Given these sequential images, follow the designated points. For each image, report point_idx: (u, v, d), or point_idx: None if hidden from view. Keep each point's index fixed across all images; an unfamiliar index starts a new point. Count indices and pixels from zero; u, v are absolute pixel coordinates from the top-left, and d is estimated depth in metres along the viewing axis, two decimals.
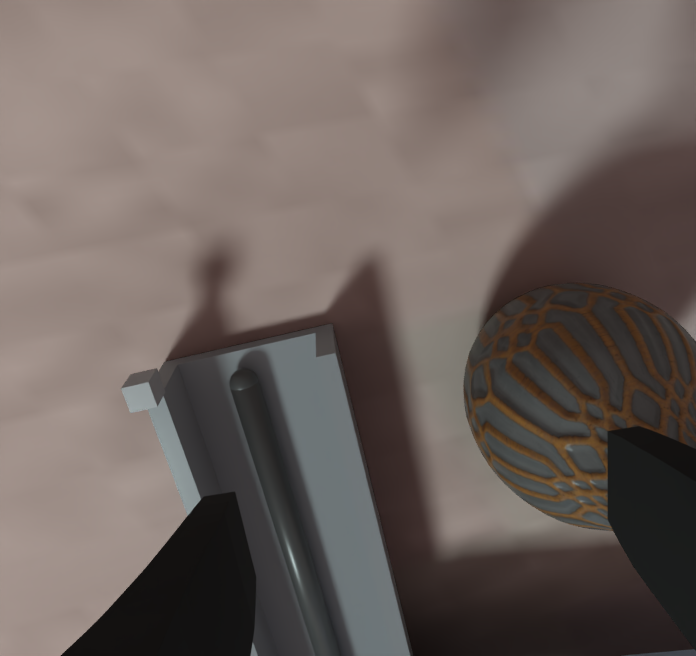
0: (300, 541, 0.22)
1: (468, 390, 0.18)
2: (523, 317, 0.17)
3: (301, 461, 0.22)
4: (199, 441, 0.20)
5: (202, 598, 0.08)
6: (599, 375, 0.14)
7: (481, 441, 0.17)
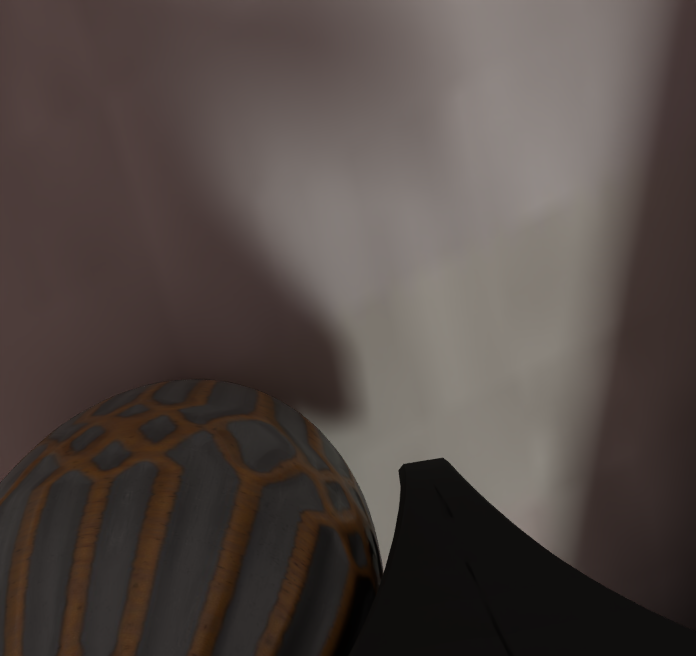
0: None
1: None
2: None
3: None
4: None
5: None
6: None
7: None
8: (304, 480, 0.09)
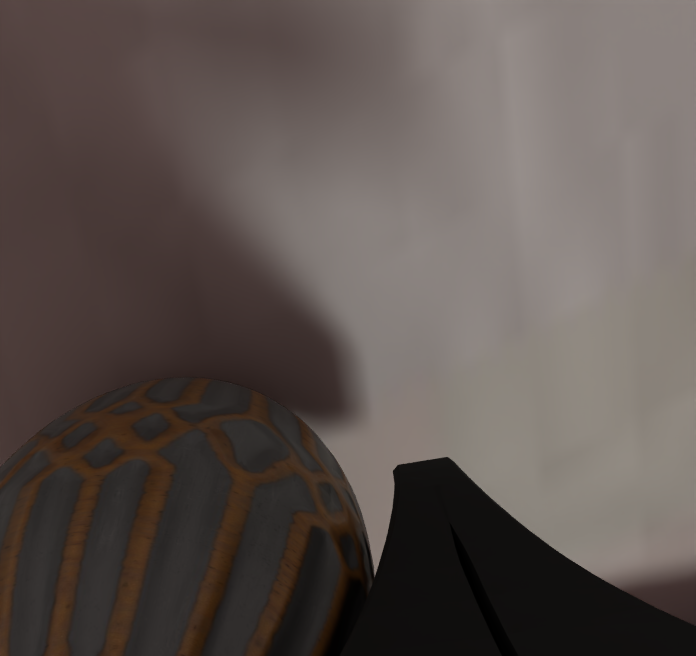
0: None
1: None
2: None
3: None
4: None
5: None
6: None
7: None
8: (297, 481, 0.09)
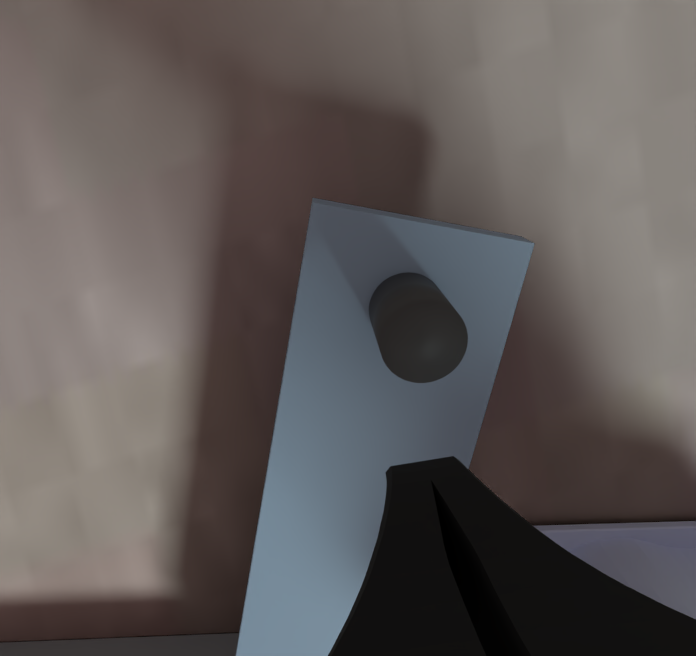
0: None
1: None
2: None
3: None
4: None
5: None
6: None
7: None
8: None
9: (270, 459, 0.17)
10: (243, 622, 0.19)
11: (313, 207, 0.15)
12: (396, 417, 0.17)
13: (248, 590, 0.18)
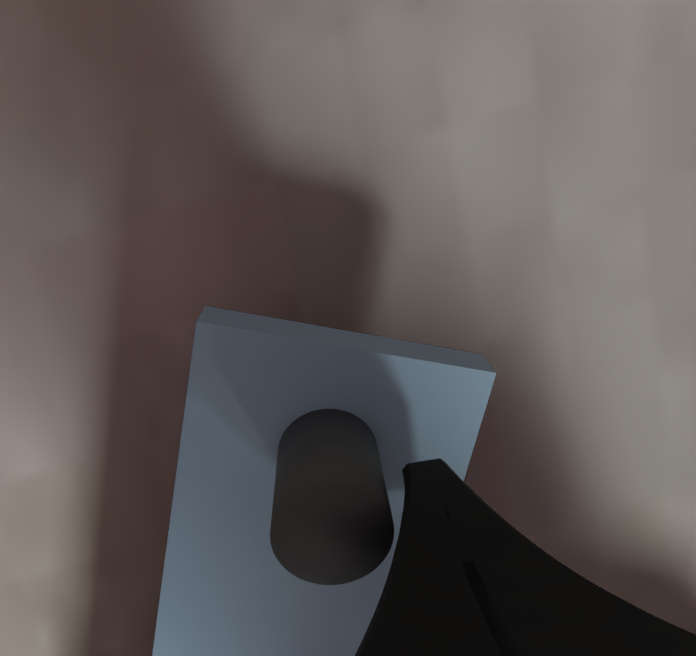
0: None
1: None
2: None
3: None
4: None
5: None
6: None
7: None
8: None
9: (156, 632, 0.13)
10: None
11: (197, 327, 0.11)
12: None
13: None
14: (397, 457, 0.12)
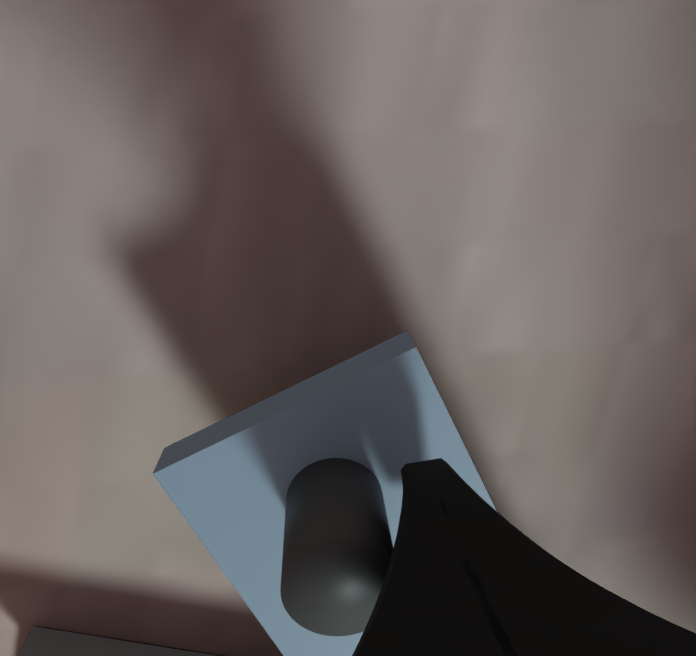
0: None
1: None
2: None
3: None
4: None
5: None
6: None
7: None
8: None
9: None
10: None
11: (157, 477, 0.12)
12: None
13: None
14: (392, 466, 0.12)
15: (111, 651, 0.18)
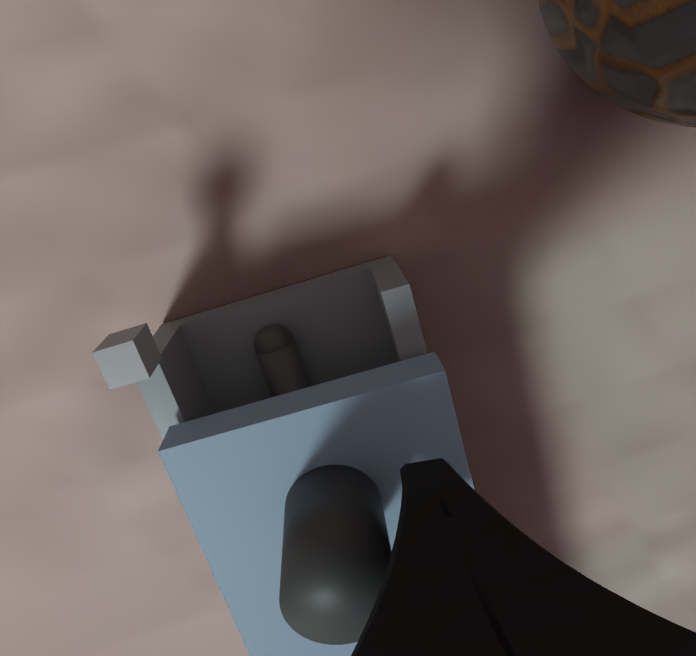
0: None
1: None
2: None
3: None
4: None
5: None
6: None
7: None
8: None
9: None
10: None
11: (161, 456, 0.12)
12: None
13: None
14: (397, 482, 0.12)
15: None
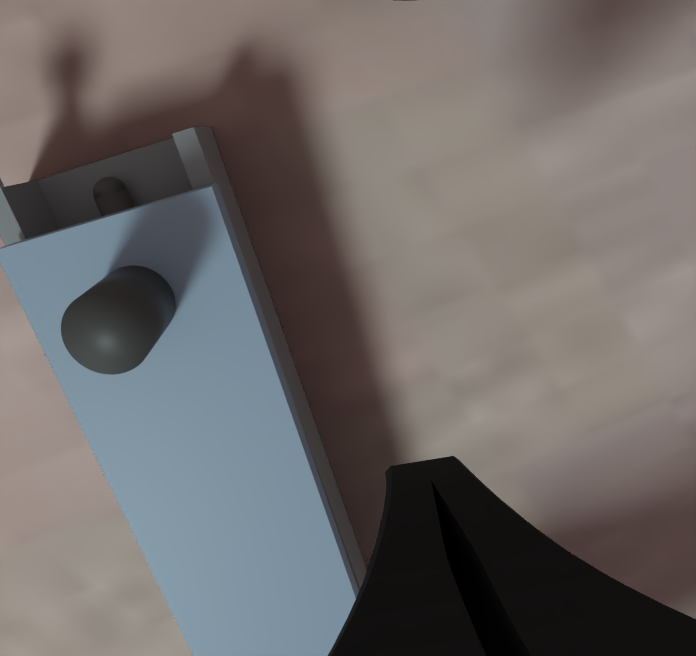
0: None
1: None
2: None
3: None
4: None
5: None
6: None
7: None
8: None
9: (111, 486, 0.17)
10: (184, 634, 0.19)
11: None
12: (194, 401, 0.17)
13: (169, 605, 0.19)
14: (185, 282, 0.16)
15: (236, 205, 0.19)
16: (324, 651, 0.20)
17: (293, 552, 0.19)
